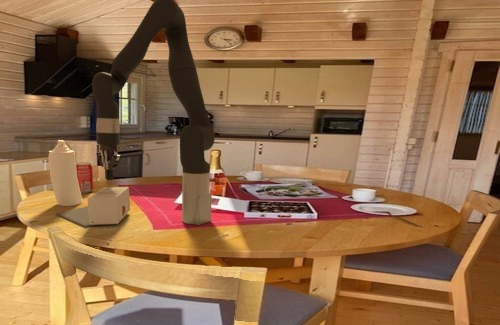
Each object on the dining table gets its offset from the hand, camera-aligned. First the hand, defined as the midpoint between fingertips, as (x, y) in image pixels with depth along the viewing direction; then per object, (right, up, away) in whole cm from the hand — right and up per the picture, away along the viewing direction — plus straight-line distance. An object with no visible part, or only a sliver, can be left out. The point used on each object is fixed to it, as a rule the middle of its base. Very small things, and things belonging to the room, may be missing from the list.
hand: (109, 179), depth 116 cm
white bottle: (-20, -10, +9) cm, 24 cm away
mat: (-5, -13, -4) cm, 14 cm away
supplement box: (+3, -7, 0) cm, 8 cm away
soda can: (-24, -7, +29) cm, 39 cm away
